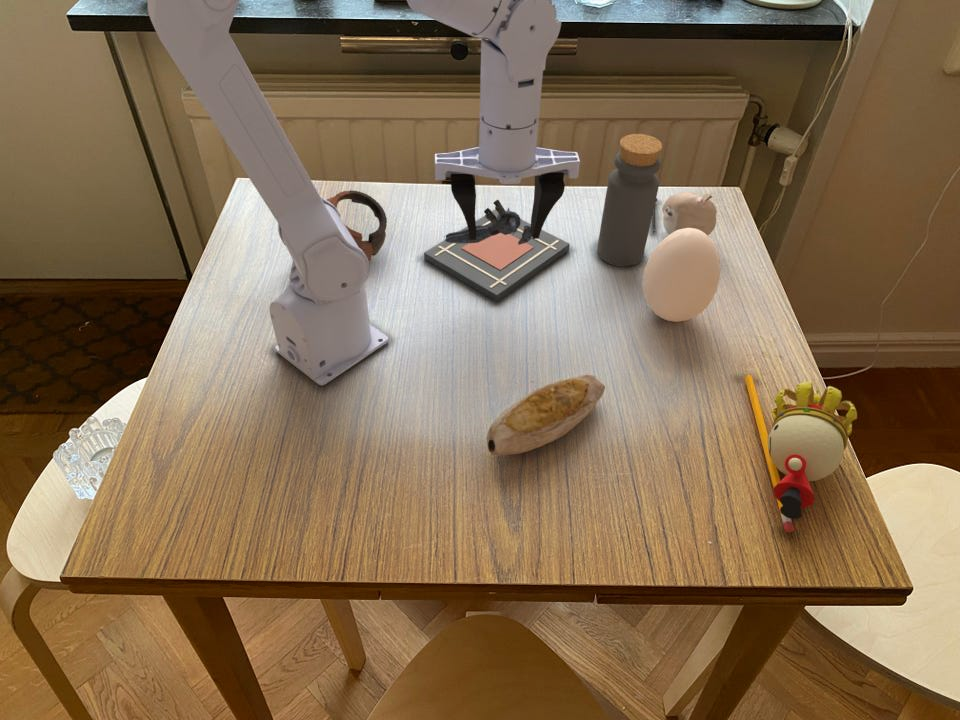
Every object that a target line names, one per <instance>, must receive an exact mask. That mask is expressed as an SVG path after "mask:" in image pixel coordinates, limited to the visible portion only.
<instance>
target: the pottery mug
mask: <svg viewBox="0 0 960 720" xmlns="http://www.w3.org/2000/svg"><path fill="white" fill-rule="evenodd" d="M326 200H327V201H329V202H330V203H332V204H333V205H334V206H335V207H336V209H337V207H338V204H339V203H340V202H341V201H344V200H351V201H350V202H351V203H355V204H360V205H363V206H367V207H369V208H370V210H371V211H372V213H373V215H374V217H375V218H377V220H378V228H377V229H376V230H375V231H374V232H371V233H369V234H368V238H367V240H363V234H362V233H361V232H358V231H356V230H354V229H352V228H350V227H349V226H348V225H346V224H345V223H344V225H345V226H346V228H347V229H348V231H349V233H350V234H351V236H352V237H353V239H354V241H355V242H356V244H357V245H358V247H359V248H360V249H362V251H363V252H364V253H365V255H366V257H367V258H368V262H370V261H371V259H372V257H375V256H377V254H378V253H379V252H380V250H381V248H382V247H383V245H384V243H385V240H386V238H387V237H386V236H387V233H386V230H387V226H388V225H387V223H388V217H387V215H386V212H385V210H384V208H383V207H382V205H381V204H380V203H379V201H377V200H376V199H374V198H373V197H372V196H370V195H369V194H367V193H365V192H363V191H360V190H359V191H358V190H352V189H351V190H350V189H349V190H343V191H340V192H338V193H337V194H336V195H334V196H331V197H329V198H327V199H326ZM337 210H338V209H337Z"/></svg>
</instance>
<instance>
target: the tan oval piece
mask: <svg viewBox="0 0 960 720" xmlns="http://www.w3.org/2000/svg"><path fill="white" fill-rule="evenodd" d="M605 389H606V386H605V385H604V383H603V382H601V381H600V380H598V378H597V377H596V376H595V375H594V374H583V375H577V376H574V377H570V378H566V379H561V380H558V381H555V382H552V383H549V384H547V385H544V386H542V387H539V388H536V389H535V390H532V391H531V392H529V393H528V394H527V395H525V396H523V397H522V398H520V399H519V400H517V401H516V402H514V403H513V404H511V405H510V406H509V407H508V408H506V409H504V411H502V412H501V413H500V414H499V415H498V416H497V418H496V419H494V421H493V422H492V424H491V425H490V427H489V429H488V431H487V435H486V444H487V451H488V452H489V453H490V454H491V455H492V456H495V457H500V456H508V455H509V456H510V455H518V454H524V453H527V452H530V451H533V450H534V449H535V450H536V449H538V448H541V447H543V446H545V445H547V444H551V443H552V442H554V441H557V440H558V439H560V438H562V437H564V436H565V435H566V434H568V433H569V432H570V431H572V430H573V429H574V428H575V427H576V426H577V425H579V424H580V423H581V422H582V421H583V420H584V419H585V418H586V417H587V416H588V415H589V414H590V413H591V412H592V410H593V409H595V407H596V406H597V404H598V403H599V401H601V398H602V397H603V395H604V392H605Z"/></svg>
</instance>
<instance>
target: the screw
mask: <svg viewBox="0 0 960 720" xmlns="http://www.w3.org/2000/svg"><path fill="white" fill-rule="evenodd" d="M657 202H658V197H656V201H655V204H656V203H657ZM651 224H652V225H651V226H652V227H651V228H652V229H651V230H652V233H655V232H656V231H655V230H656V205H655V206H654V210H653V215H652V219H651Z"/></svg>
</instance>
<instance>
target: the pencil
mask: <svg viewBox="0 0 960 720" xmlns="http://www.w3.org/2000/svg"><path fill="white" fill-rule="evenodd" d="M744 381H745V384H746V388H747V392H748V396H749V399H750V403H751V407H752V410H753V414H754V419H755V422H756V426H757V428H758V433H759V437H760V441H761V445H762V449H763V451H764V457H765V460H766V464H767V468H768V471H769V475H770V480H771V483H772V486H773V488H774V487H775V486H776V485H777V484H778V483H779V482H780V481H781V477H780V473H779V469H778V468H777V467H776V466H775V464H774V463H773V462H772V459H771V457H770V455H769V451H768V439H769V434H768V430H767V427H766V426H767V425H766V422H765V418H764V415H763V412H762V408H761V404H760V400H759V397H758V393H757V389H756V386H755V382H754V379H753V376H752V375H751V374H747V375H746V376H744ZM775 499H776V503H777V505H778V510H779V513H780V518H781V521H782V525H783V529H784V532H785V533H792V532H794V531H795V529H794V525H793V521H792V519H790V518H787V517H785V516H784V515H783V514H782V513H781V512H780V508H781V507H782V506H783V505H782V504H781V502H780V501H779V500H778V499H777V498H776V497H775Z"/></svg>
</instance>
